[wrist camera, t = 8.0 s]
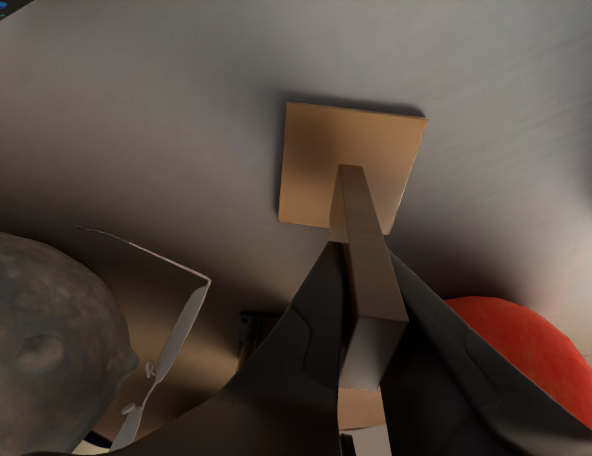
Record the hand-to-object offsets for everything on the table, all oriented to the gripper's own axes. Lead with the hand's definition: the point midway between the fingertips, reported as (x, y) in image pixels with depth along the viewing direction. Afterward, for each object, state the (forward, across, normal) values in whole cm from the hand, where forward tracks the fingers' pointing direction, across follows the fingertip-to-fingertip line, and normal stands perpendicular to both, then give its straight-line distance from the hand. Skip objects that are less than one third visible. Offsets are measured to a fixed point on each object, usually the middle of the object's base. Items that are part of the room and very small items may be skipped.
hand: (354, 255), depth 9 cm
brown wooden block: (+4, 0, 0) cm, 5 cm away
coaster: (+6, 0, 0) cm, 6 cm away
